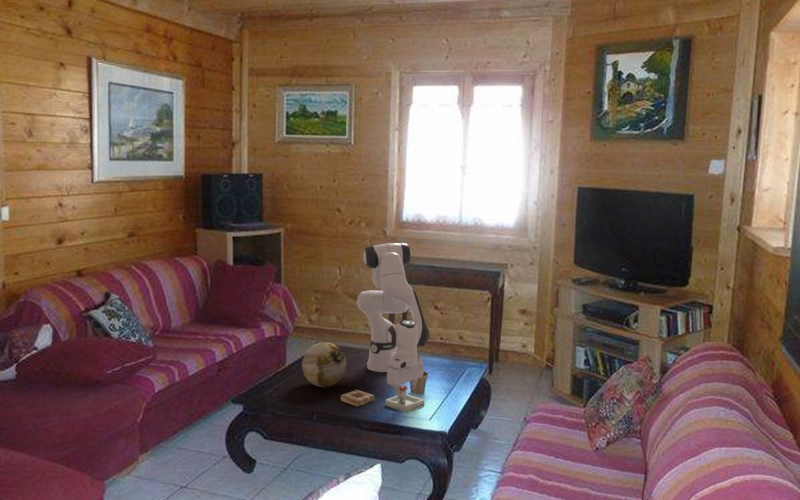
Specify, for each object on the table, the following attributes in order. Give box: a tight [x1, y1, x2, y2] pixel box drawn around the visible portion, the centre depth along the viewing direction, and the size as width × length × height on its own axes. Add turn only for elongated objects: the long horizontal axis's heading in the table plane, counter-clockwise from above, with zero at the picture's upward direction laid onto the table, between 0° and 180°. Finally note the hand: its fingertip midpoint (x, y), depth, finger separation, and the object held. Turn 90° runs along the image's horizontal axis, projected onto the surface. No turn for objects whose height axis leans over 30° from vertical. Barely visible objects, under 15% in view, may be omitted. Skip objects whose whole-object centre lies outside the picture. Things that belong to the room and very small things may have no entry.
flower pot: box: [409, 370, 429, 395], centre depth 302 cm, size 9×9×9 cm
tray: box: [384, 393, 425, 413], centre depth 285 cm, size 12×12×2 cm
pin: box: [397, 385, 408, 405], centre depth 283 cm, size 4×4×8 cm
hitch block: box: [340, 389, 375, 407], centre depth 289 cm, size 10×10×2 cm
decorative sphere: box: [301, 341, 347, 388], centre depth 305 cm, size 20×20×20 cm
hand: (405, 391), depth 284 cm, fingers open, 8 cm apart
